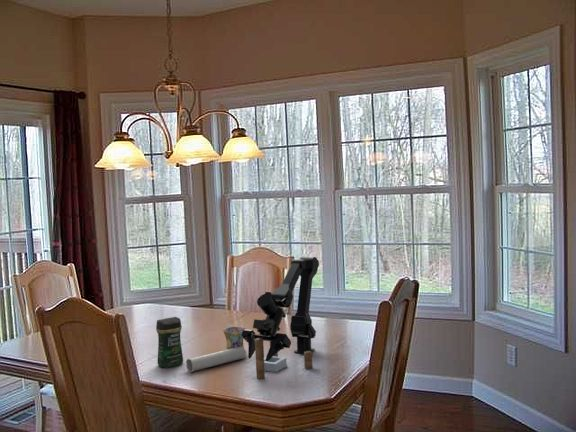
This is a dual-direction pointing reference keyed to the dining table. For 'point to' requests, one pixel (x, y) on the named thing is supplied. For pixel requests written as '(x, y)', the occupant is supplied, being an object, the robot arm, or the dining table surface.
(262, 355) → the long walnut dowel
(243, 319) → the dining table surface
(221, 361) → the tube
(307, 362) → the short walnut dowel
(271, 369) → the slate collar block
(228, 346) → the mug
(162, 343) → the coffee jar
